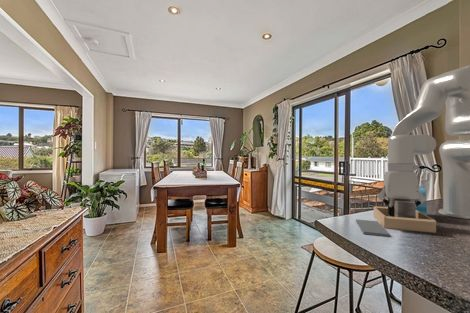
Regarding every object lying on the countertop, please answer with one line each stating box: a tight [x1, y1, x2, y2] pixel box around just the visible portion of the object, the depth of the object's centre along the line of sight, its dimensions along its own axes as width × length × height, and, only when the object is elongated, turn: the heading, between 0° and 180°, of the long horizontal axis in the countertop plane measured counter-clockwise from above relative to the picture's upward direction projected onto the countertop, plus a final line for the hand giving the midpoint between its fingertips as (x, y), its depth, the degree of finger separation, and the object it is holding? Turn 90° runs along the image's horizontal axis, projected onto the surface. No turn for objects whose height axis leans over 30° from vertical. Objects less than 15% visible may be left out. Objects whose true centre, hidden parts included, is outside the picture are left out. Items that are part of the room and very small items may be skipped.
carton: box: [373, 205, 438, 234], centre depth 77 cm, size 14×18×4 cm
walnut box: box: [389, 199, 416, 218], centre depth 77 cm, size 5×10×9 cm, turn 159°
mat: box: [355, 218, 390, 238], centre depth 73 cm, size 7×14×1 cm, turn 159°
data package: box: [414, 185, 428, 216], centre depth 87 cm, size 12×4×12 cm, turn 140°
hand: (401, 217), depth 77 cm, fingers closed on walnut box, 5 cm apart
